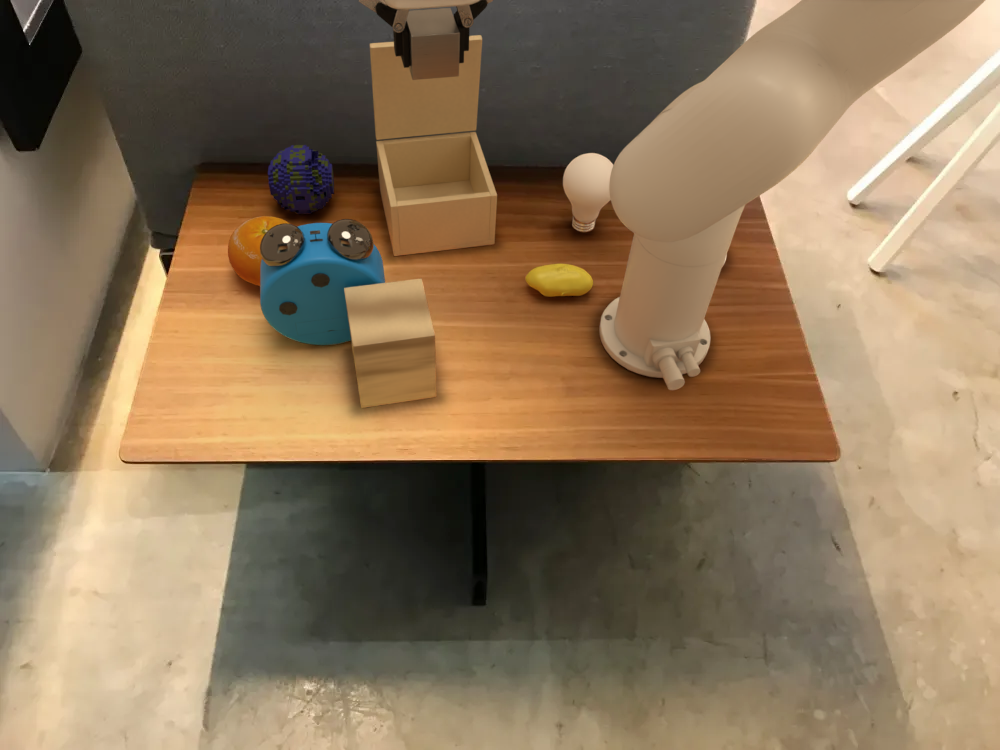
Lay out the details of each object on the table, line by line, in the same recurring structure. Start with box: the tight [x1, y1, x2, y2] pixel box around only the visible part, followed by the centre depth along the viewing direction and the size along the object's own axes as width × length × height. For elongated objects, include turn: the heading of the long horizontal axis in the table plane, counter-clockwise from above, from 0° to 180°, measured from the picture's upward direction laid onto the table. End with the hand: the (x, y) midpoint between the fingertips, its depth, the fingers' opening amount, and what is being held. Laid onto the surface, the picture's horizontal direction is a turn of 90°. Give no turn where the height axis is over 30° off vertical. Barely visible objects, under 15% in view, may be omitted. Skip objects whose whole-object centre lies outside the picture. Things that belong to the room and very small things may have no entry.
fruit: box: [227, 215, 291, 287], centre depth 99 cm, size 8×8×8 cm
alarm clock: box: [259, 218, 386, 346], centre depth 91 cm, size 13×6×15 cm, turn 100°
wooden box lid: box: [369, 34, 483, 141], centre depth 102 cm, size 13×13×5 cm
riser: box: [344, 277, 437, 409], centre depth 89 cm, size 8×8×10 cm
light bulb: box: [562, 152, 614, 233], centre depth 105 cm, size 7×7×11 cm
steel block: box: [406, 7, 460, 80], centre depth 90 cm, size 5×5×5 cm
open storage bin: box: [375, 131, 498, 257], centre depth 106 cm, size 13×13×8 cm
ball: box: [267, 144, 335, 215], centre depth 107 cm, size 8×8×8 cm
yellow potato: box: [524, 262, 594, 298], centre depth 100 cm, size 4×8×4 cm, turn 85°
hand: (431, 56), depth 91 cm, fingers closed on steel block, 5 cm apart
